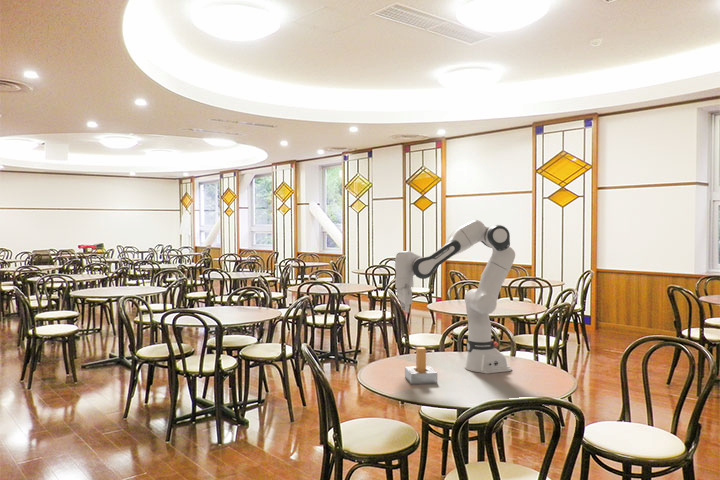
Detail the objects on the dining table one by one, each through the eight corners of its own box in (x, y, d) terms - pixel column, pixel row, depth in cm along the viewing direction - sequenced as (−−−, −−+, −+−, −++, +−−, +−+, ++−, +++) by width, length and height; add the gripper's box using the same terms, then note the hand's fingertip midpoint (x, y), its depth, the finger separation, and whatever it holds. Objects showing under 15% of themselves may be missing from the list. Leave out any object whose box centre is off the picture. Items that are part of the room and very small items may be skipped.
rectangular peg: (423, 377, 242) (423, 347, 242) (425, 379, 239) (425, 348, 238) (416, 377, 242) (416, 347, 241) (418, 379, 238) (418, 349, 238)
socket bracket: (429, 375, 247) (429, 365, 247) (437, 383, 235) (437, 372, 235) (404, 376, 245) (404, 366, 245) (411, 384, 234) (411, 374, 233)
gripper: (415, 285, 252) (416, 313, 252) (406, 281, 272) (407, 308, 272) (402, 285, 251) (403, 314, 251) (394, 282, 271) (395, 308, 271)
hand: (405, 311), depth 262 cm, fingers open, 8 cm apart
